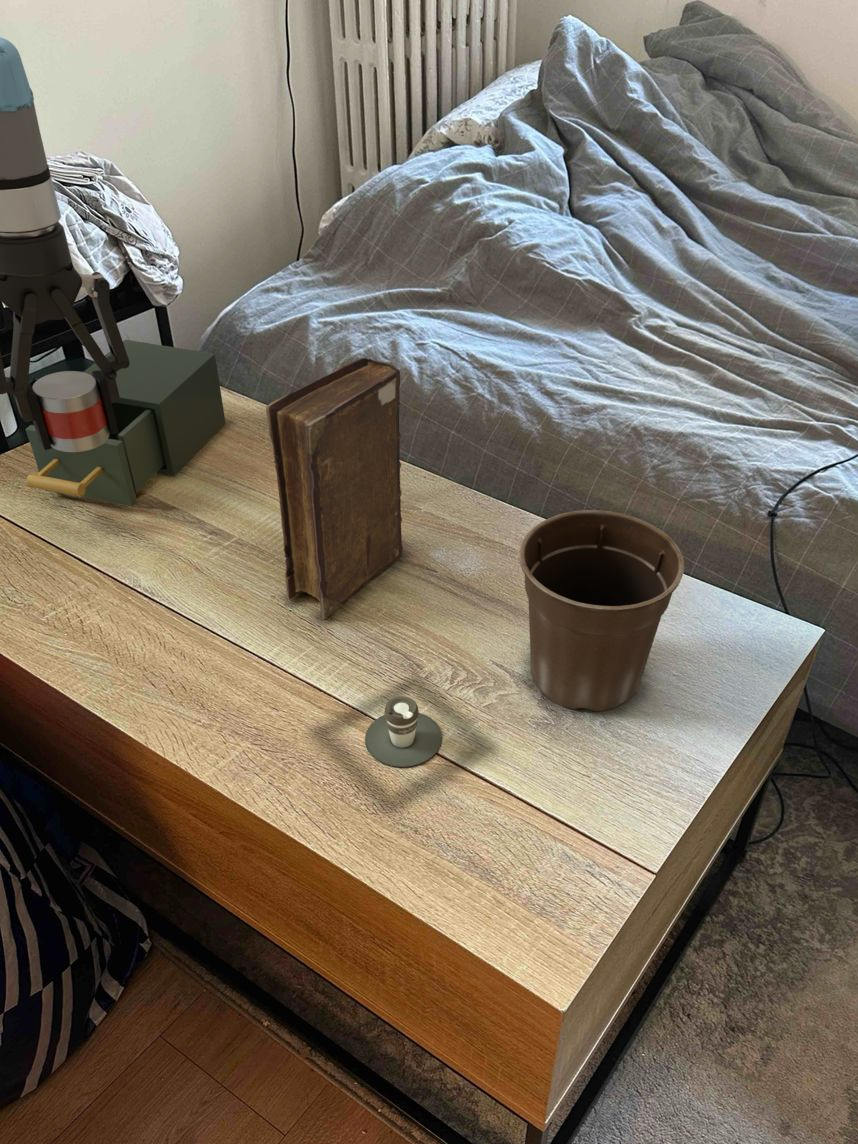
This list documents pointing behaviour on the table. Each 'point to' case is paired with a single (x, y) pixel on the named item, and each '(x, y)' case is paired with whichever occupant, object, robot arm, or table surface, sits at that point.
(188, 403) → the cabinet
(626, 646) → the plant pot
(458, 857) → the table surface
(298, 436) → the book
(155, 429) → the drawer
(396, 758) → the coffee cup
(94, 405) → the tin can
